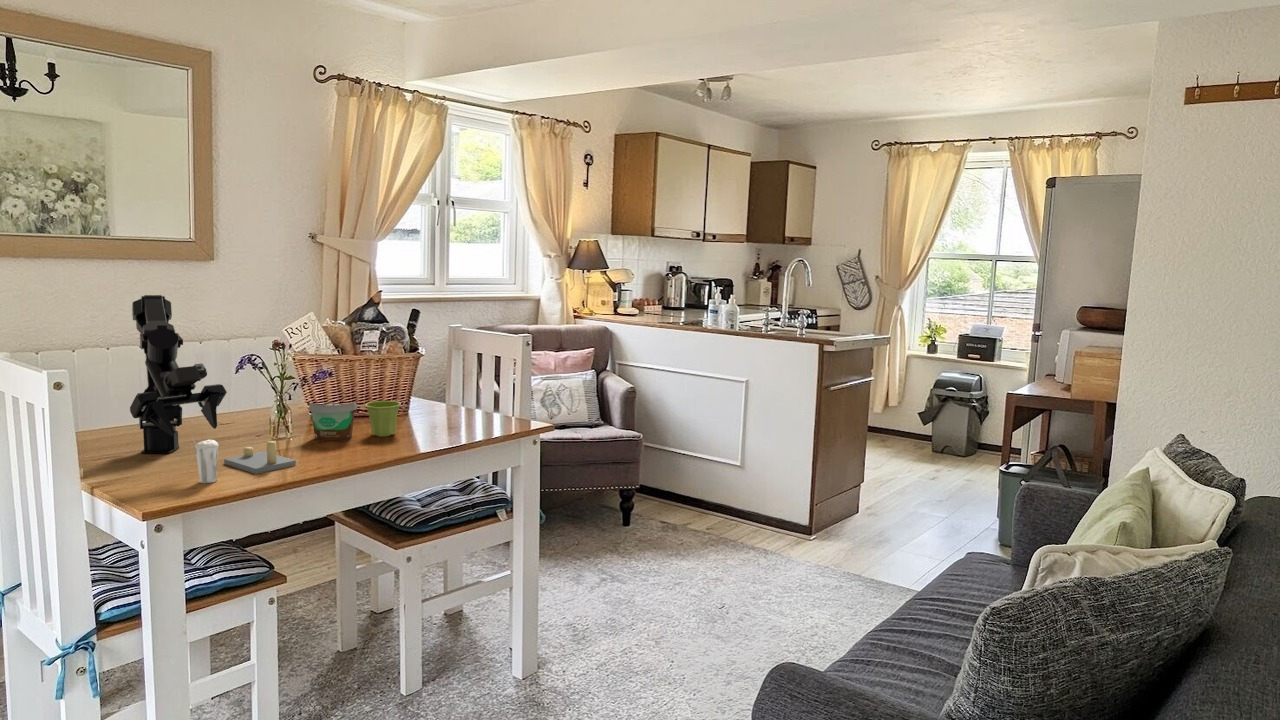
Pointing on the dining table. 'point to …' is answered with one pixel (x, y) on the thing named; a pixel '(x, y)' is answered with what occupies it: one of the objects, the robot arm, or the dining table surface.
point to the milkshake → (207, 460)
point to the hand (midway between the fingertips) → (194, 430)
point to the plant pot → (383, 417)
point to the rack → (260, 460)
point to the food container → (333, 421)
